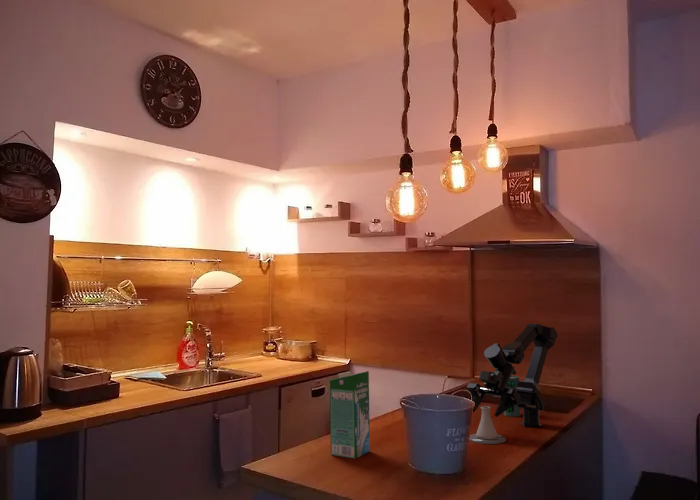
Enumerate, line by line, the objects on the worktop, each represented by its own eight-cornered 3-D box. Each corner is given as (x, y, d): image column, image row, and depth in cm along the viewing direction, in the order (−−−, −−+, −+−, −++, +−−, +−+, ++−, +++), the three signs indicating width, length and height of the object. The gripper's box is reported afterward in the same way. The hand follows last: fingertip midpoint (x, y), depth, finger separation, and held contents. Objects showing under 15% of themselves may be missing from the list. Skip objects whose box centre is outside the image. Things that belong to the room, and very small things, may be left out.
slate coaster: (466, 434, 190) (466, 433, 190) (501, 434, 190) (501, 433, 190) (472, 444, 178) (471, 442, 178) (509, 444, 178) (509, 442, 178)
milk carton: (345, 447, 177) (344, 368, 179) (370, 451, 172) (368, 370, 174) (330, 454, 169) (329, 372, 171) (355, 459, 164) (354, 374, 166)
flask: (471, 437, 184) (470, 407, 185) (482, 433, 189) (481, 404, 190) (491, 441, 179) (490, 410, 180) (501, 436, 185) (500, 406, 185)
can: (501, 413, 222) (500, 376, 223) (515, 413, 223) (514, 375, 225) (508, 417, 216) (507, 378, 218) (523, 416, 217) (521, 377, 219)
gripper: (468, 359, 196) (450, 395, 187) (515, 364, 182) (497, 402, 173) (482, 379, 200) (464, 415, 192) (528, 385, 186) (512, 424, 178)
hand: (483, 413), depth 184 cm, fingers open, 9 cm apart
